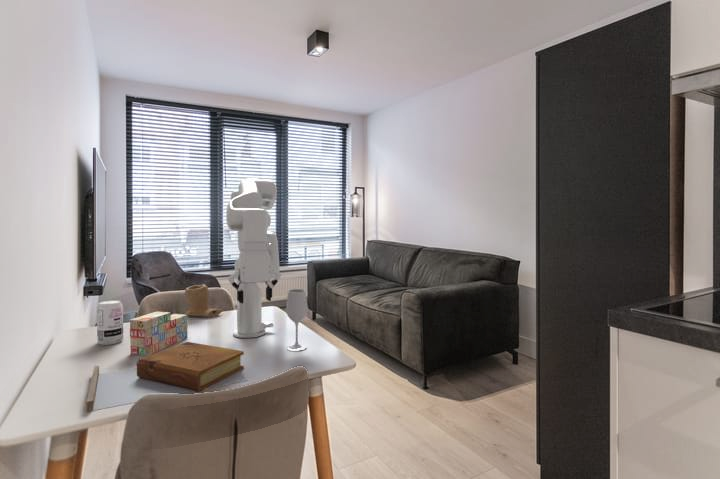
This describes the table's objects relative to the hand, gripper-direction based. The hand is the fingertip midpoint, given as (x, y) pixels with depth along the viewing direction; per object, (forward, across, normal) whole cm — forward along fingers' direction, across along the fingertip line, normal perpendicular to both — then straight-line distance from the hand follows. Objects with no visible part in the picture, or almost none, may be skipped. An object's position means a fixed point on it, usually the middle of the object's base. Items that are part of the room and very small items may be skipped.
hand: (255, 301), depth 127 cm
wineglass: (+20, -17, -7) cm, 28 cm away
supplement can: (+20, +41, -47) cm, 66 cm away
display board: (+20, +25, 0) cm, 32 cm away
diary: (+20, +19, 0) cm, 28 cm away
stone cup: (+20, +5, -73) cm, 76 cm away
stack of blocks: (+20, +25, -34) cm, 47 cm away
